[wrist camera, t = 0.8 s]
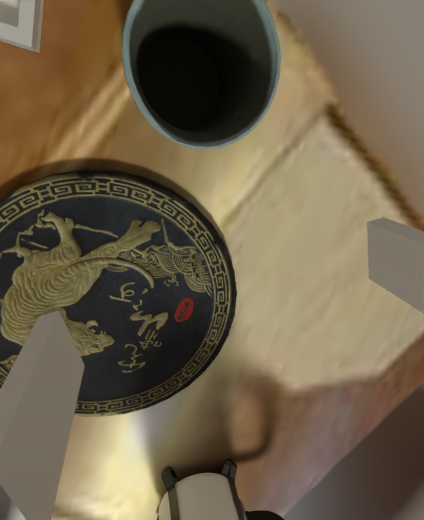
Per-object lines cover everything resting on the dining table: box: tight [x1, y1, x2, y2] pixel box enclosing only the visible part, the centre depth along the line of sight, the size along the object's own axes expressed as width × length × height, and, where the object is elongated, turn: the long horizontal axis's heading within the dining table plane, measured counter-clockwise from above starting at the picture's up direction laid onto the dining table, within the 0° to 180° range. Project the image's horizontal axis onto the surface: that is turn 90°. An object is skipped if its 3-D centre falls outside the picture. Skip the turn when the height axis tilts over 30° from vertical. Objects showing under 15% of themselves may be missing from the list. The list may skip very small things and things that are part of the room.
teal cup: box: [122, 0, 281, 149], centre depth 26 cm, size 10×10×12 cm
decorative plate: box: [0, 170, 237, 417], centre depth 37 cm, size 30×2×30 cm
